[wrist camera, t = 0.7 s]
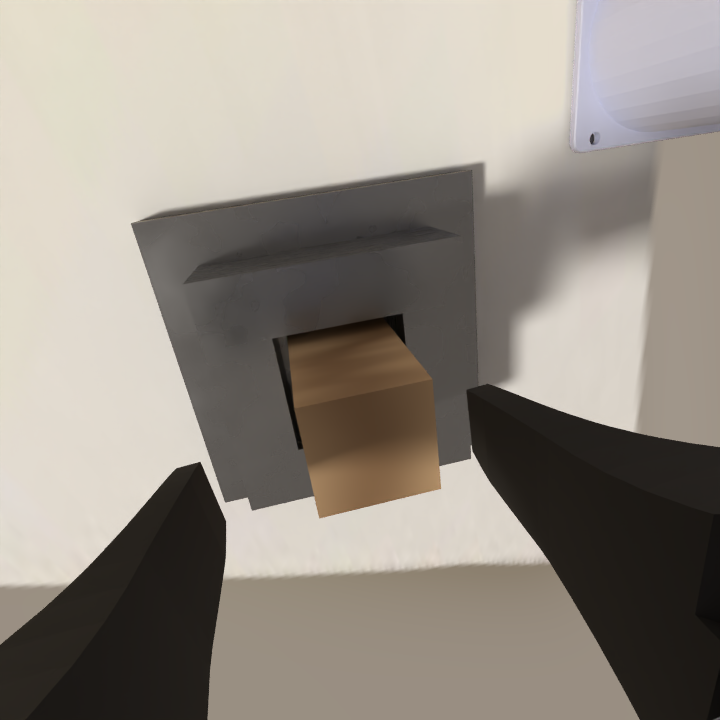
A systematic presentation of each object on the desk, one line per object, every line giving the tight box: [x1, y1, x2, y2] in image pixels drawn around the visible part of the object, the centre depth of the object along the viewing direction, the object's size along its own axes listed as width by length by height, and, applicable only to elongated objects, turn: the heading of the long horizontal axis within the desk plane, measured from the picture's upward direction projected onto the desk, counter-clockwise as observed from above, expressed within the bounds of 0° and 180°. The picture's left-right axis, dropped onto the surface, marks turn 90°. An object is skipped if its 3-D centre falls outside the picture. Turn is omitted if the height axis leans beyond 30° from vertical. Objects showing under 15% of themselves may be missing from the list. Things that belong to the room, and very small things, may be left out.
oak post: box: [286, 317, 441, 518], centre depth 17 cm, size 4×4×8 cm
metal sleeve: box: [131, 170, 478, 510], centre depth 19 cm, size 14×14×5 cm
